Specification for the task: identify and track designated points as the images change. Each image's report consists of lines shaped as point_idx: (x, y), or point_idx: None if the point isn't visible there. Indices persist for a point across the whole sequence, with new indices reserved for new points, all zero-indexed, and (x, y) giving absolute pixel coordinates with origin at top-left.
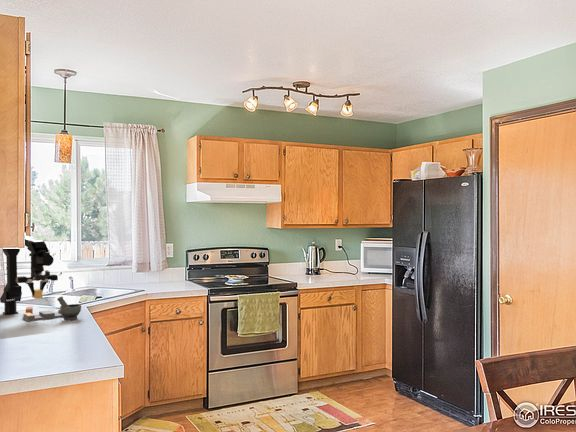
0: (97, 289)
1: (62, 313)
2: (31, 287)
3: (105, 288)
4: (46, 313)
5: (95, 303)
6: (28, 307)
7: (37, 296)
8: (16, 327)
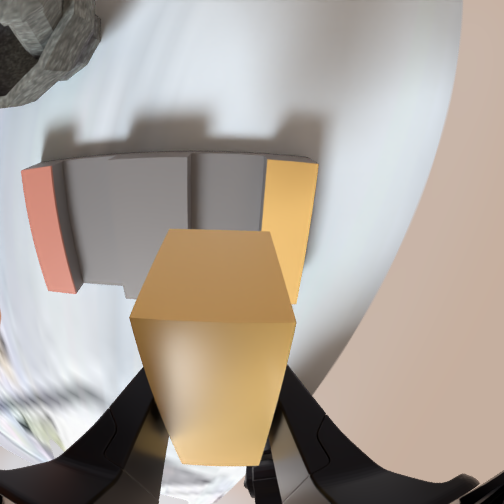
0: None
1: (94, 8)
2: (346, 447)
3: None
4: (164, 178)
5: (3, 377)
6: None
7: (248, 246)
8: (414, 24)
